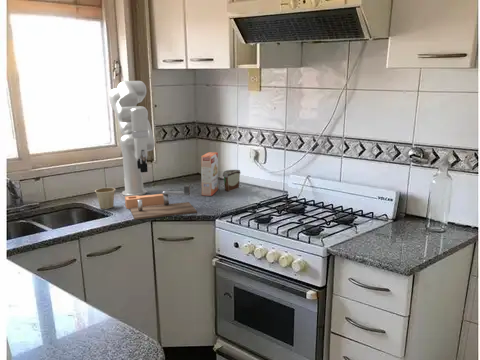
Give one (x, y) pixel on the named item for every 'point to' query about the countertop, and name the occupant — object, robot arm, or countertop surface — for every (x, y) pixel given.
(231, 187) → the food container
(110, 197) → the flower pot
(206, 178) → the cracker box
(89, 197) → the countertop surface
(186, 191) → the keeper
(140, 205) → the hardware
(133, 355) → the countertop surface
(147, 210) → the board
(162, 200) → the link
